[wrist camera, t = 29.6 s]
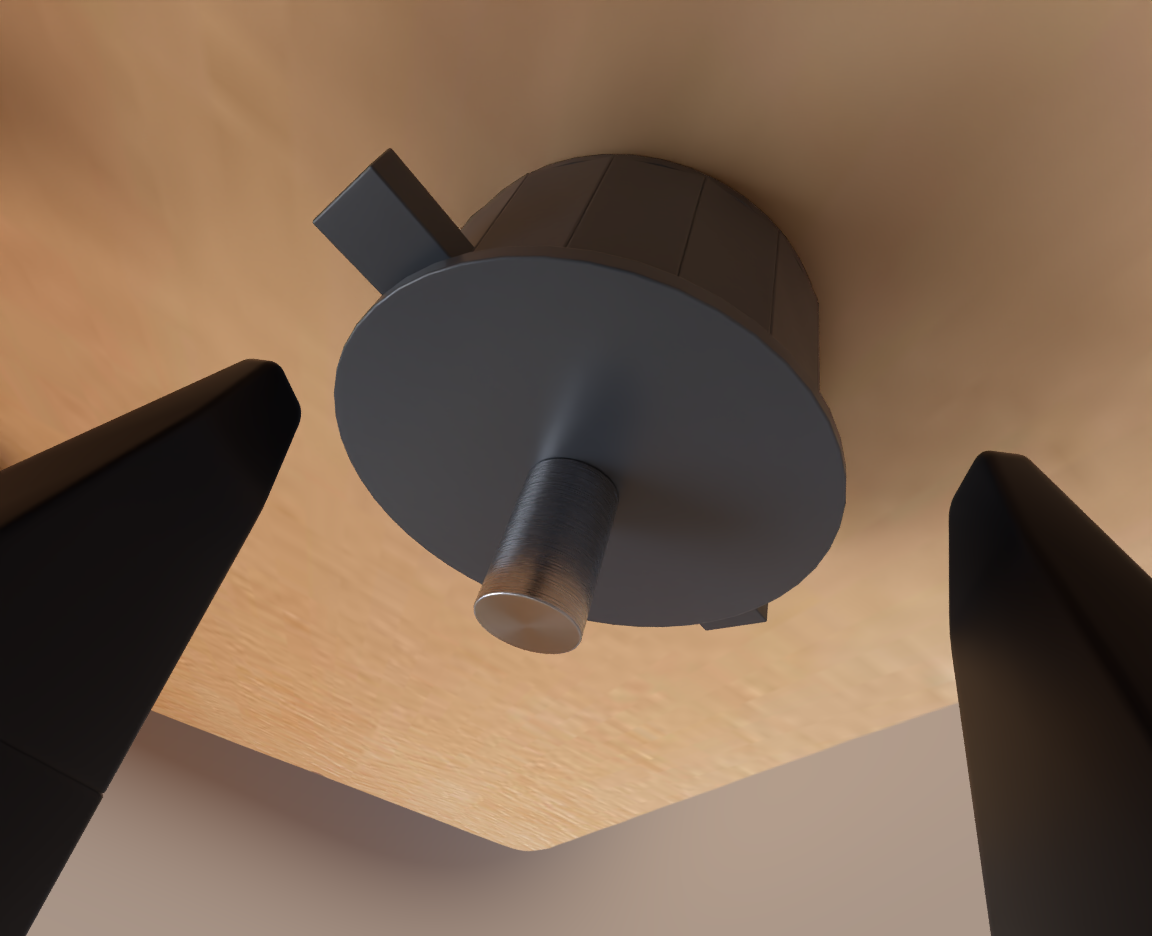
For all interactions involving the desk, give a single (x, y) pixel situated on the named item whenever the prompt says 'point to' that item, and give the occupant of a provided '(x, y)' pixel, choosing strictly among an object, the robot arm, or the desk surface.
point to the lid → (589, 442)
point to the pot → (593, 238)
